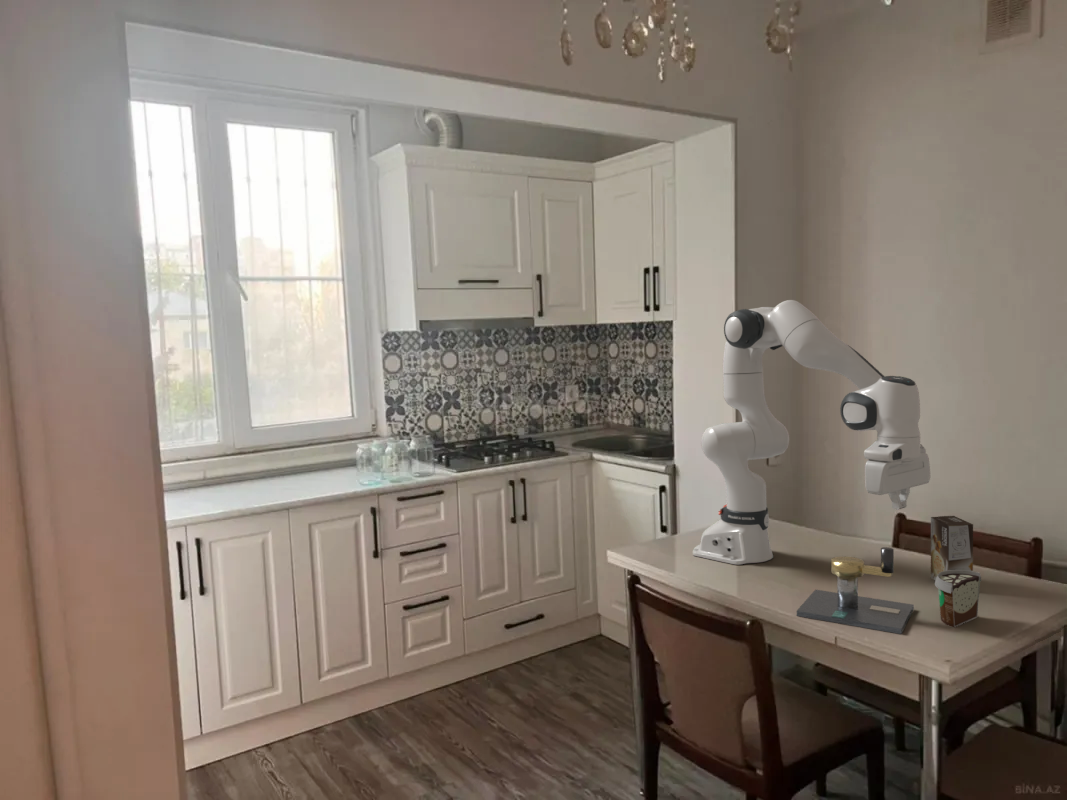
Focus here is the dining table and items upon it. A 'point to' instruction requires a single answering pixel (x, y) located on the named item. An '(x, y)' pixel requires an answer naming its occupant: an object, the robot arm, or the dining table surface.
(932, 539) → the coffee box
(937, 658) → the dining table surface
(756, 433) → the robot arm
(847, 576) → the brass crank knob
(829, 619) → the labelled display base
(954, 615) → the food container
